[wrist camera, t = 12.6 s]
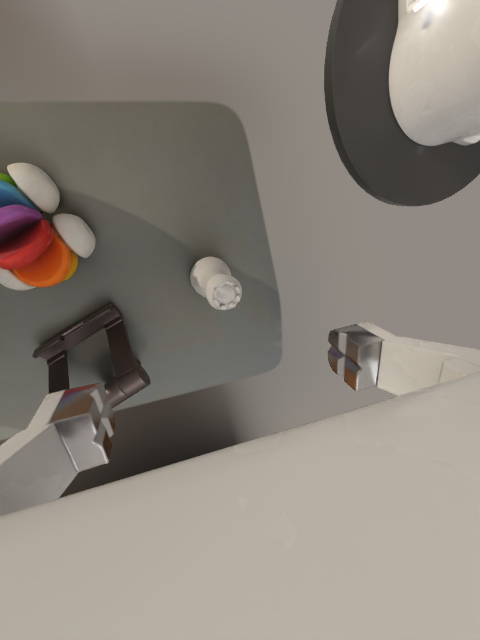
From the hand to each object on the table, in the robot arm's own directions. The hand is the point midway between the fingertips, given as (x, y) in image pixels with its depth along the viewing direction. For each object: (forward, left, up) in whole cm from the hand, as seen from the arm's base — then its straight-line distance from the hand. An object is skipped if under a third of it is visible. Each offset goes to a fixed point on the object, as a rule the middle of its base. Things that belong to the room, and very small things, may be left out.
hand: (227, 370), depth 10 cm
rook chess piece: (-1, +4, -22) cm, 23 cm away
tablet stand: (+13, 0, -22) cm, 26 cm away
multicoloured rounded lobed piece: (+6, -12, -22) cm, 26 cm away
